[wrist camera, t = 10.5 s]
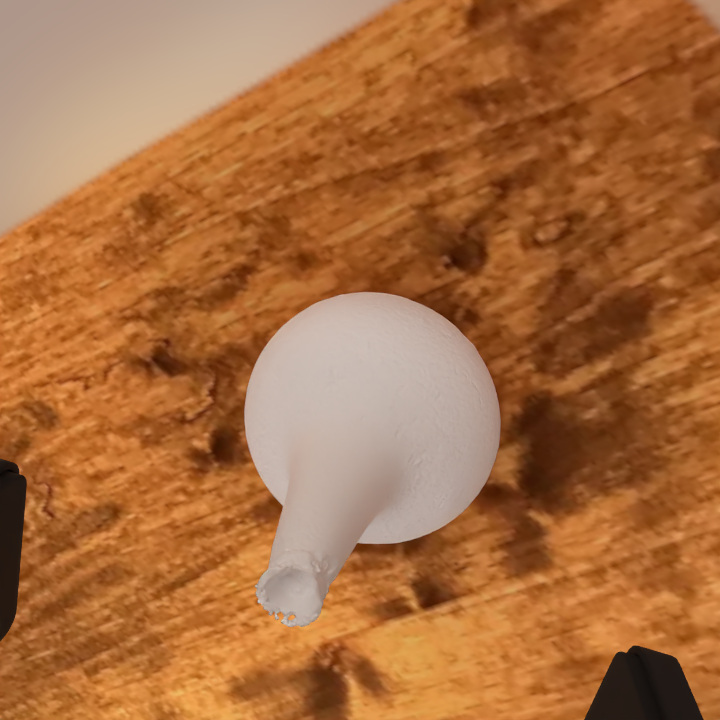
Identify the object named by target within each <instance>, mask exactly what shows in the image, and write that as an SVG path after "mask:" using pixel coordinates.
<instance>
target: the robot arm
mask: <svg viewBox="0 0 720 720" xmlns="http://www.w3.org/2000/svg"><path fill="white" fill-rule="evenodd" d="M26 486H27V483H26V478H25V477H24V476H23V475H19V469H18V466H17V465H16V464H15V463H13V462H9V461H6V460H3V459H0V641H1V640H2V639H3V637H4V636H5V635H6V634H7V632H8V631H9V629H10V627H11V625H12V623H13V621H14V618H15V615H16V609H17V597H18V585H19V572H20V560H21V548H22V536H23V523H24V511H25V499H26ZM584 720H703V718H702V715H701V713H700V711H699V708H698V706H697V703H696V701H695V699H694V696H693V694H692V692H691V689H690V687H689V685H688V682H687V680H686V678H685V675H684V673H683V671H682V668H681V666H680V664H679V662H678V660H677V659H676V658H675V657H673V656H671V655H667V654H664V653H661V652H657V651H654V650H650V649H647V648H643V647H640V646H632V647H631V648H630V649H629V650H628V652H627V653H625V652H618V653H617V654H616V655H615V656H614V658H613V660H612V662H611V664H610V666H609V669H608V671H607V673H606V675H605V677H604V679H603V681H602V683H601V685H600V688H599V690H598V692H597V694H596V696H595V698H594V700H593V702H592V704H591V706H590V709H589V711H588V713H587V715H586V717H585V719H584Z"/></svg>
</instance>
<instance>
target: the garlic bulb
mask: <svg viewBox="0 0 720 720" xmlns="http://www.w3.org/2000/svg"><path fill="white" fill-rule="evenodd" d="M244 414H245V416H244V418H245V430H246V439H247V442H248V446H249V450H250V453H251V456H252V459H253V461H254V464H255V466H256V469H257V471H258V473H259V475H260V477H261V478H262V480H263V482H264V483H265V485H266V486H267V488H268V489H269V491H270V492H271V493H272V494H273V496H274V497H275V498H276V499H277V500H278V501H279V502H280V503H281V504H282V505H283V510H282V513H281V516H280V520H279V525H278V527H277V531H276V536H275V539H274V543H273V546H272V552H271V556H270V561H269V568H268V569H267V571H266V572H264V574H262V576H261V577H260V580H259V581H258V584H256V585H255V588H257V591H256V595H257V597H258V598H259V599H258V603H262V606H263V609H265V610H267V611H270V612H269V615H270V616H271V615H272V614H273V612H275V615H274V616H275V619H277V620H278V619H279V617H278V616H277V613H279V612H282V613H283V615H284V618H283V620H281V623H283V624H285V625H287V626H288V627H294V626H296V625H298V626H301V627H302V626H306V625H309V623H311V622H313V621H315V620H316V619H317V618H318V616H319V615H320V612H321V608H322V605H323V599H325V597H326V594H327V593H328V592H329V586H330V584H331V583H332V582H333V581H334V580H335V578H336V577H337V575H338V573H339V571H340V570H341V568H342V567H343V566H344V564H345V562H346V560H347V559H348V557H349V556H350V554H351V552H352V551H353V549H354V548H355V546H356V544H357V543H364V544H367V543H369V544H390V543H399V542H403V541H408V540H412V539H415V538H419V537H421V536H424V535H426V534H429V533H431V532H433V531H436V530H438V529H440V528H441V527H443V526H444V525H446V524H448V523H449V522H450V521H452V520H453V519H455V518H456V517H457V516H459V515H460V514H461V513H462V512H463V511H464V510H465V509H466V508H467V507H468V506H469V505H470V504H471V502H472V501H473V500H474V499H475V498H476V496H477V495H478V494H479V492H480V490H481V489H482V487H483V486H484V485H485V483H486V481H487V479H488V477H489V475H490V472H491V469H492V467H493V464H494V462H495V460H496V455H497V451H498V448H499V441H500V426H501V425H500V424H501V420H500V419H501V418H500V409H499V402H498V398H497V393H496V390H495V386H494V384H493V380H492V378H491V376H490V373H489V371H488V369H487V367H486V365H485V363H484V362H483V359H482V358H481V356H480V355H479V353H478V351H477V349H476V348H475V346H474V344H472V343H471V342H470V341H469V340H468V339H467V337H465V336H464V335H463V334H462V333H461V331H460V330H459V329H458V328H457V327H455V325H453V324H452V323H451V322H450V321H448V320H447V319H446V318H444V317H443V316H442V315H440V314H439V313H436V312H435V311H434V310H432V309H430V308H428V307H426V306H424V305H422V304H419V303H417V302H415V301H412V300H410V299H408V298H404V297H401V296H397V295H393V294H386V293H376V292H358V293H349V294H341V295H338V296H335V297H332V298H329V299H325V300H322V301H319V302H317V303H315V304H313V305H311V306H309V307H308V308H307V309H305V310H303V311H301V312H300V313H299V314H297V315H296V316H294V317H293V318H291V319H290V320H289V321H288V322H287V323H285V324H284V325H283V326H282V327H281V328H280V329H279V330H278V331H277V333H276V334H275V335H274V336H273V337H272V338H271V340H270V341H269V342H268V343H267V345H266V346H265V348H264V349H263V351H262V352H261V354H260V356H259V358H258V360H257V362H256V364H255V366H254V369H253V371H252V374H251V377H250V380H249V384H248V387H247V393H246V400H245V408H244ZM290 615H295V616H296V617H295V619H293V620H288V617H289V616H290Z"/></svg>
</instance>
